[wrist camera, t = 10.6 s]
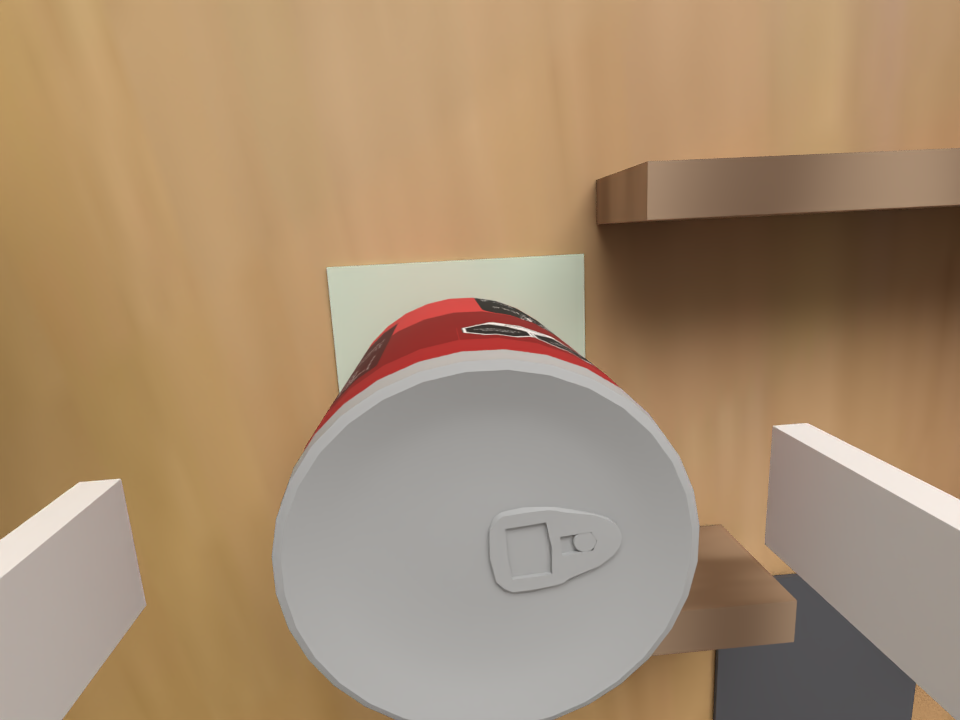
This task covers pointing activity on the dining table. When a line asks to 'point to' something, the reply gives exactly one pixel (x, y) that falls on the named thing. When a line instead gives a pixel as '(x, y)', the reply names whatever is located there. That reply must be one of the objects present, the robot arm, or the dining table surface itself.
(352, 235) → the dining table surface
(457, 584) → the canned food
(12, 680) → the robot arm
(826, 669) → the mat
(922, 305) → the dining table surface
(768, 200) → the wooden walled channel
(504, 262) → the pad
